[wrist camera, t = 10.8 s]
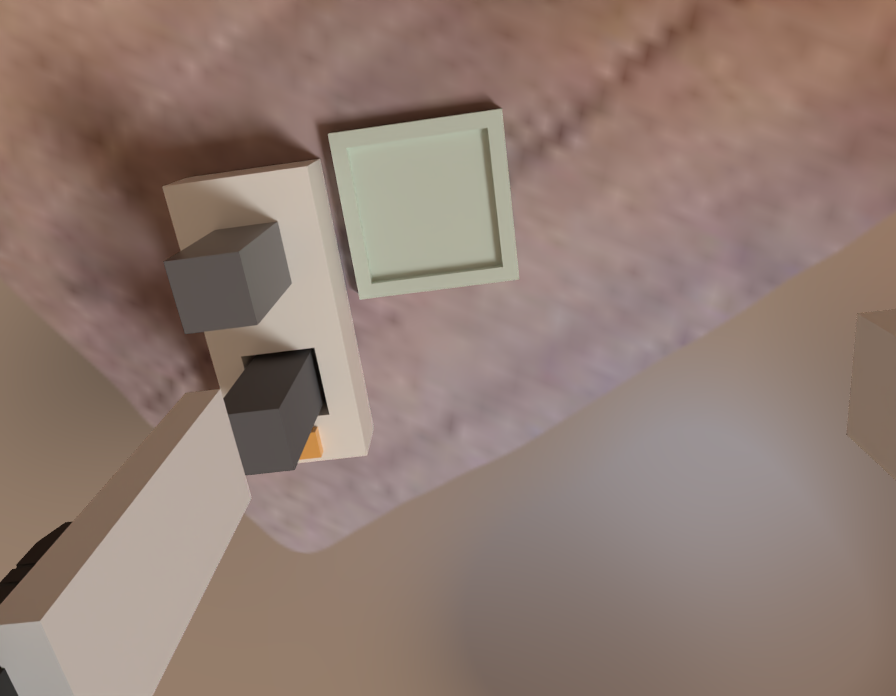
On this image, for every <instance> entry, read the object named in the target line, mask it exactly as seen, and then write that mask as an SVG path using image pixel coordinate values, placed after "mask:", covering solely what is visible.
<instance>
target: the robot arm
mask: <svg viewBox="0 0 896 696" xmlns="http://www.w3.org/2000/svg"><path fill="white" fill-rule="evenodd" d="M846 435H848V436H849V437H850V438H851V439H852V440H853V441H854V442H855V443H856V444H857V445H858V446H860V448H861V449H863V450H864V451H865V452H866V453H867V454H868V455H869V456H870V457H871V458H872V459H873V460H874V461H875V462H876V463H878V464H879V465H880V466H881V467H882V468H883V469H884V470H885V471H886V472H887V473H888V474H889V475H890V476H892V477H893V478H894V479H895V480H896V309H891V310H883V311H875V312H866V313H857V322H856V333H855V344H854V356H853V366H852V377H851V388H850V400H849V411H848V422H847V434H846ZM251 498H252V497H251V494H250V490H249V487H248V483H247V480H246V476H245V473H244V469H243V466H242V463H241V459H240V456H239V452H238V449H237V445H236V442H235V438H234V435H233V431H232V428H231V424H230V421H229V417H228V414H227V410H226V407H225V403H224V400H223V396H222V393H221V389H215V390H206V391H198V392H189V393H185V394H184V395H183V397H182V398H181V399H180V400H179V401H178V402H177V403H176V405H175V406H174V407H173V408H172V409H171V410H170V411H169V413H168V414H167V415H166V416H165V417H164V418H163V419H162V421H161V422H160V423H159V424H158V425H157V426H156V427H155V429H154V430H153V431H152V432H151V433H150V434H149V435H148V436H147V438H146V439H145V440H144V441H143V442H142V444H141V445H140V446H139V447H138V448H137V449H136V450H135V451H134V453H133V454H132V455H131V456H130V457H129V458H128V459H127V461H126V462H125V463H124V464H123V465H122V466H121V467H120V468H119V470H118V471H117V472H116V473H115V474H114V475H113V476H112V478H111V479H110V480H109V481H108V482H107V483H106V484H105V486H104V487H103V488H102V489H101V490H100V491H99V492H98V494H97V495H96V496H95V497H94V498H93V499H92V500H91V502H90V503H89V504H88V505H87V506H86V507H85V508H84V510H83V511H82V512H81V513H80V514H79V515H78V516H77V518H76V519H75V520H74V521H73V522H65V523H64V524H62V525H61V526H60V527H58V528H57V529H55V530H54V531H52V532H51V533H50V534H48V535H47V536H45V537H44V538H42V539H41V540H40V541H38V542H37V543H36V544H35V545H34V546H33V547H32V548H31V549H30V551H28V553H27V554H26V555H25V556H24V557H23V558H22V559H21V560H20V561H19V562H18V564H17V568H16V569H12V570H11V571H10V572H9V573H8V575H7V576H6V577H5V578H4V579H3V580H2V581H1V582H0V696H153V694H154V692H155V690H156V687H157V686H158V683H159V682H160V680H161V678H162V676H163V673H164V671H165V670H166V667H167V665H168V663H169V662H170V660H171V658H172V656H173V654H174V652H175V650H176V648H177V646H178V644H179V642H180V640H181V638H182V636H183V634H184V632H185V630H186V628H187V626H188V624H189V622H190V620H191V617H192V616H193V614H194V612H195V610H196V608H197V606H198V604H199V602H200V600H201V598H202V596H203V594H204V592H205V590H206V588H207V586H208V584H209V582H210V580H211V577H212V576H213V574H214V572H215V570H216V568H217V565H218V564H219V562H220V560H221V558H222V556H223V554H224V552H225V550H226V548H227V545H228V544H229V542H230V540H231V538H232V536H233V534H234V532H235V530H236V528H237V526H238V524H239V522H240V520H241V518H242V516H243V514H244V512H245V510H246V508H247V506H248V504H249V502H250V500H251Z"/></svg>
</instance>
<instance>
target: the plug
mask: <svg viewBox="0 0 896 696" xmlns="http://www.w3.org/2000/svg"><path fill="white" fill-rule="evenodd" d="M325 398H326V397H325V393H324V388H323V384H322V379H321V375H320V371H319V366H318V362H317V357H316V353H315V348H307V349H299V350H291V351H283V352H275V353H266V354H258V355H255V356H254V358H253V359H252V360H251V362H250V363H249V364H248V366H247V367H246V368H245V370H244V371H243V372H242V374H241V375H240V376H239V378H238V379H237V380H236V382H235V383H234V385H233V386H232V387H231V389H230V390H229V391H228V393H227V394H226V395H225V397H224V398H223V400H224V403H225V407H226V410H227V414H228V417H229V421H230V424H231V428H232V431H233V435H234V438H235V442H236V445H237V449H238V452H239V456H240V459H241V463H242V466H243V469H244V473H245V475H254V474H263V473H272V472H281V471H290V470H295V468H296V466H297V463H298V461H299V459H300V456H301V454H302V452H303V449H304V447H305V445H306V442H307V440H308V438H309V435H310V433H311V431H312V428H313V426H314V424H315V421H316V419H317V417H318V414H319V412H320V410H321V407H322V405H323V402H324V400H325Z"/></svg>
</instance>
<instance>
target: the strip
mask: <svg viewBox="0 0 896 696" xmlns="http://www.w3.org/2000/svg"><path fill="white" fill-rule="evenodd" d="M162 188H163V192H164V195H165V199H166V202H167V206H168V209H169V213H170V216H171V219H172V223H173V226H174V230H175V233H176V237H177V240H178V244H179V247H180V252H178V253H177V254H175V255H173V256H172V257H170V258H169V259H167V260H165V261H164V266H165V269H166V272H167V276H168V279H169V282H170V286H171V289H172V292H173V296H174V299H175V302H176V306H177V309H178V313H179V316H180V319H181V323H182V326H183V329H184V333H185V334H190V333H198V332H204V334H205V338H206V341H207V345H208V348H209V352H210V355H211V359H212V362H213V366H214V369H215V373H216V376H217V380H218V383H219V387H220V389H221V393H222V396H223V398H224V397H225V395H226V394H227V393H228V391H229V390H230V389H231V387H232V386H233V385H234V383H235V382H236V380H237V379H238V378H239V376H240V375H241V374H242V372H243V371H244V370H245V368H246V367H247V366H248V364H249V363H250V362H251V360H252V359H253V358H254V356H255V355H258V354H266V353H275V352H283V351H291V350H299V349H307V348H315V353H316V357H317V362H318V366H319V371H320V375H321V379H322V384H323V388H324V393H325V397H326V398H325V400H324V402H323V405H322V407H321V410H320V412H319V414H318V417H317V419H316V421H315V424H314V426H313V428H312V431H311V433H310V435H309V438H308V440H307V442H306V445H305V447H304V449H303V452H302V454H301V456H300V459H299V461H298V463H303V462H312V461H321V460H330V459H340V458H349V457H358V456H367V454H368V450H369V446H370V442H371V438H372V434H373V430H374V426H373V421H372V416H371V411H370V406H369V401H368V396H367V391H366V386H365V381H364V376H363V371H362V366H361V361H360V356H359V351H358V346H357V341H356V336H355V331H354V326H353V321H352V316H351V311H350V306H349V301H348V296H347V291H346V286H345V281H344V276H343V271H342V266H341V261H340V256H339V251H338V246H337V241H336V236H335V231H334V226H333V221H332V216H331V211H330V206H329V201H328V196H327V191H326V186H325V181H324V176H323V171H322V166H321V161H320V159H314V160H307V161H300V162H293V163H286V164H279V165H272V166H265V167H258V168H250V169H243V170H236V171H229V172H222V173H215V174H208V175H201V176H194V177H187V178H184V179H181V180H179V181H176V182H173V183H170V184H168V185H165V186H162Z"/></svg>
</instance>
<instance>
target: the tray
mask: <svg viewBox="0 0 896 696" xmlns="http://www.w3.org/2000/svg"><path fill="white" fill-rule="evenodd" d="M328 138H329V143H330V148H331V154H332V159H333V164H334V169H335V174H336V179H337V185H338V190H339V195H340V200H341V205H342V210H343V216H344V221H345V226H346V231H347V236H348V241H349V247H350V252H351V257H352V262H353V267H354V272H355V278H356V283H357V288H358V293H359V298H360V299H368V298H376V297H384V296H392V295H400V294H408V293H416V292H423V291H431V290H439V289H447V288H455V287H463V286H471V285H479V284H487V283H495V282H503V281H511V280H519V272H518V262H517V252H516V242H515V232H514V222H513V213H512V203H511V193H510V183H509V173H508V164H507V154H506V144H505V134H504V124H503V114H502V108H498V109H491V110H484V111H477V112H471V113H464V114H457V115H450V116H443V117H436V118H429V119H422V120H415V121H408V122H401V123H394V124H387V125H380V126H373V127H366V128H359V129H352V130H345V131H338V132H331V133H328Z"/></svg>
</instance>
